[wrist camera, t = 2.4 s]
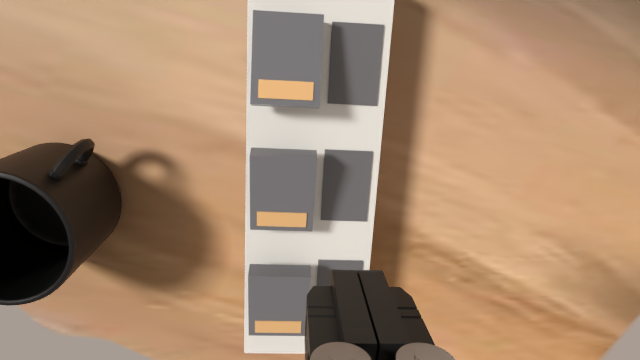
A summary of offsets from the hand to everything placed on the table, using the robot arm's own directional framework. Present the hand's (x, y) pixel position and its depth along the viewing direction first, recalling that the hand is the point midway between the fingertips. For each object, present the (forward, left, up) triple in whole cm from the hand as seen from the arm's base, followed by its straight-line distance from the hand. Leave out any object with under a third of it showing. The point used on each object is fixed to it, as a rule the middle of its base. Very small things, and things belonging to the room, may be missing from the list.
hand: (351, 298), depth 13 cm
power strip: (+3, 0, -25) cm, 26 cm away
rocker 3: (+12, -2, -20) cm, 23 cm away
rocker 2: (+3, -2, -20) cm, 20 cm away
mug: (+5, -20, -26) cm, 33 cm away
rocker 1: (-6, -2, -20) cm, 21 cm away
